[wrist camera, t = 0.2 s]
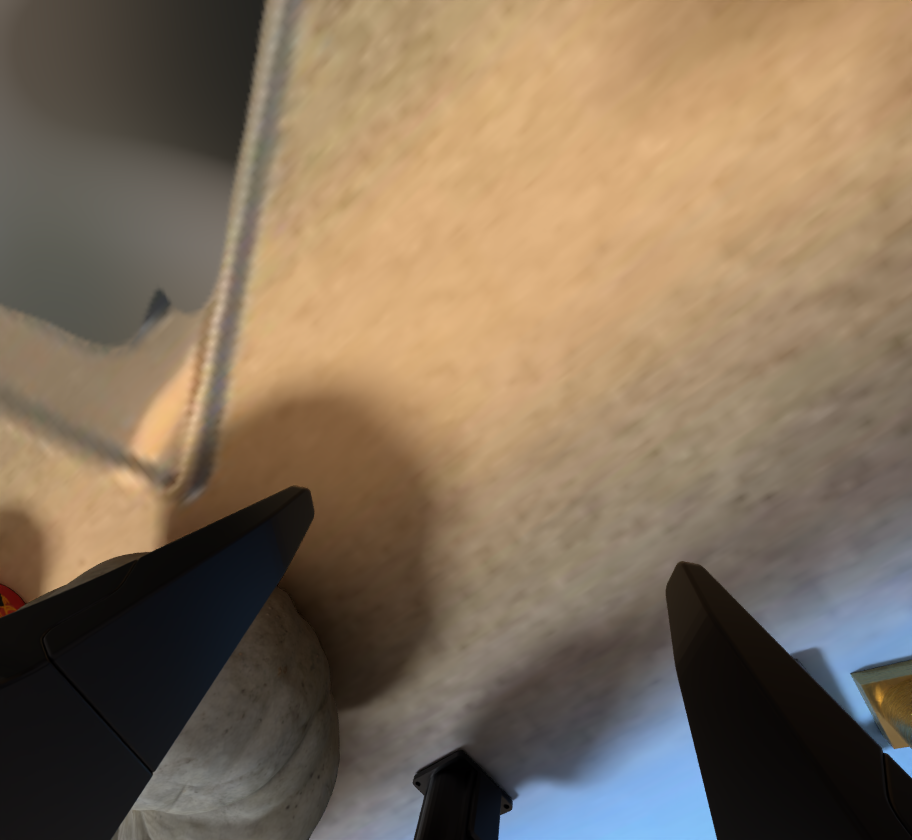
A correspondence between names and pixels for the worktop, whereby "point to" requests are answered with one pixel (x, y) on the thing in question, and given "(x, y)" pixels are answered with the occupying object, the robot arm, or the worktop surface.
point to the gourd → (246, 739)
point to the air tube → (889, 700)
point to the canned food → (9, 601)
